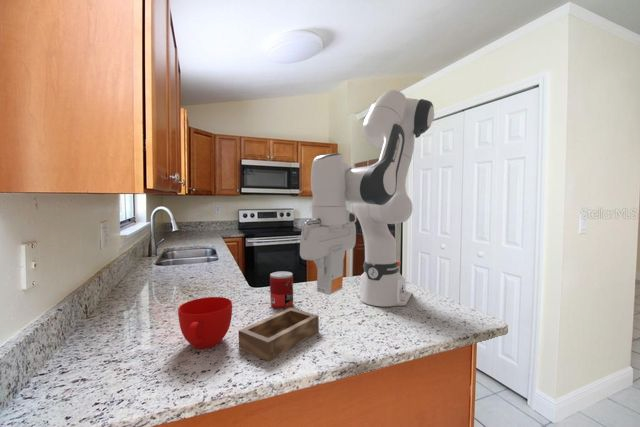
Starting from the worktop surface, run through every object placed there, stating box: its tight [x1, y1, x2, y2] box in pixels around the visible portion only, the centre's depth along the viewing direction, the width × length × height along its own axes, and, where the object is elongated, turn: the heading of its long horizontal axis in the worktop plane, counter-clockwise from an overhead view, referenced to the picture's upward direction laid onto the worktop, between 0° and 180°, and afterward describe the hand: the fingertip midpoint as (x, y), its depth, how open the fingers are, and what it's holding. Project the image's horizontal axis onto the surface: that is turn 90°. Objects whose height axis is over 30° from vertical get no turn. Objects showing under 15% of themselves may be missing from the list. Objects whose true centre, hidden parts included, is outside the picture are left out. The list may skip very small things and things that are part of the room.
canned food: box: [269, 270, 294, 310], centre depth 104 cm, size 8×8×11 cm
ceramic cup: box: [177, 296, 233, 350], centre depth 75 cm, size 13×17×10 cm
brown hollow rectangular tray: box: [237, 307, 320, 363], centre depth 79 cm, size 19×10×4 cm, turn 143°
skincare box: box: [316, 245, 345, 296], centre depth 77 cm, size 6×4×12 cm
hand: (330, 271), depth 77 cm, fingers closed on skincare box, 6 cm apart
